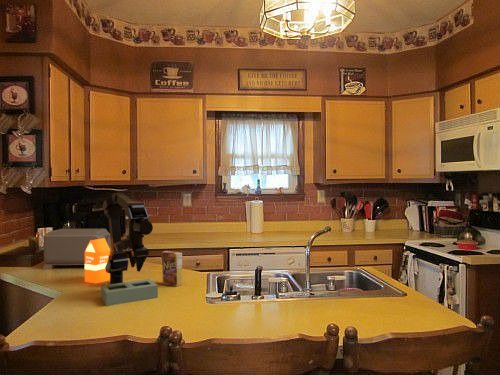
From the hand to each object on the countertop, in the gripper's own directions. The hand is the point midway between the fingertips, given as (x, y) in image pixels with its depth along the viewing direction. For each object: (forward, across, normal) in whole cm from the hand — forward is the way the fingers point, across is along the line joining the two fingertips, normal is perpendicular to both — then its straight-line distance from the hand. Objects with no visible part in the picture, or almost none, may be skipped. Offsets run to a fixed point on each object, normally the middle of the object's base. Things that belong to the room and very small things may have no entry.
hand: (135, 269), depth 159 cm
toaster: (+12, -75, -11) cm, 77 cm away
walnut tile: (+9, +3, -8) cm, 12 cm away
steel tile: (+9, +3, +1) cm, 9 cm away
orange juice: (+11, -34, -9) cm, 37 cm away
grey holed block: (+11, +3, -3) cm, 12 cm away
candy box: (+11, -7, +19) cm, 23 cm away
